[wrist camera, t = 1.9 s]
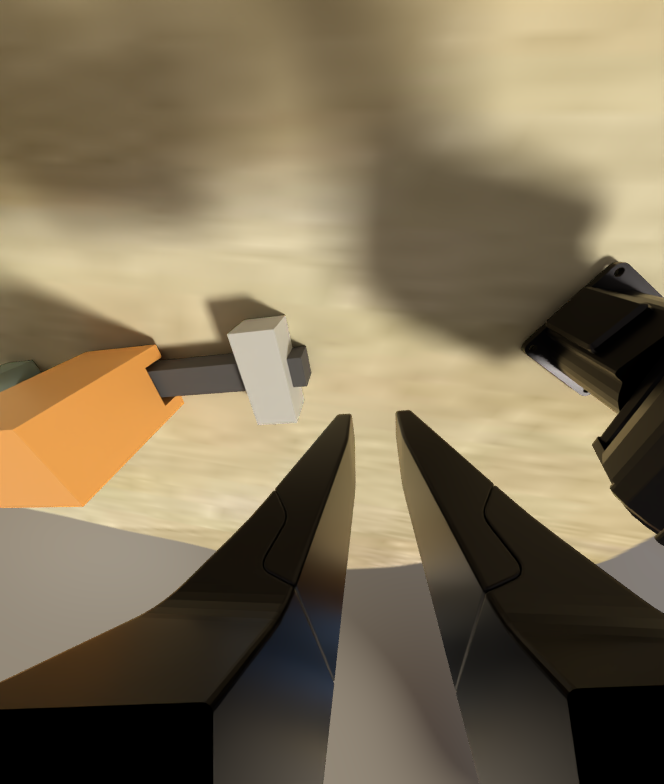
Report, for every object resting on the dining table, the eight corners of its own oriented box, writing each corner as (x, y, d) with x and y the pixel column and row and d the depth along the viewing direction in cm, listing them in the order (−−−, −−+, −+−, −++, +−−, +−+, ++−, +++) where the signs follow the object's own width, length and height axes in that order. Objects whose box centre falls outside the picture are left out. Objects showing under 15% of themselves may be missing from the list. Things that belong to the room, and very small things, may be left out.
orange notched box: (155, 344, 20) (12, 429, 12) (184, 403, 23) (83, 506, 15) (85, 351, 21) (-94, 436, 13) (121, 407, 24) (-9, 507, 16)
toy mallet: (299, 313, 19) (281, 339, 15) (316, 399, 22) (306, 440, 18) (-4, 348, 23) (-89, 377, 18) (51, 417, 26) (-9, 455, 22)
